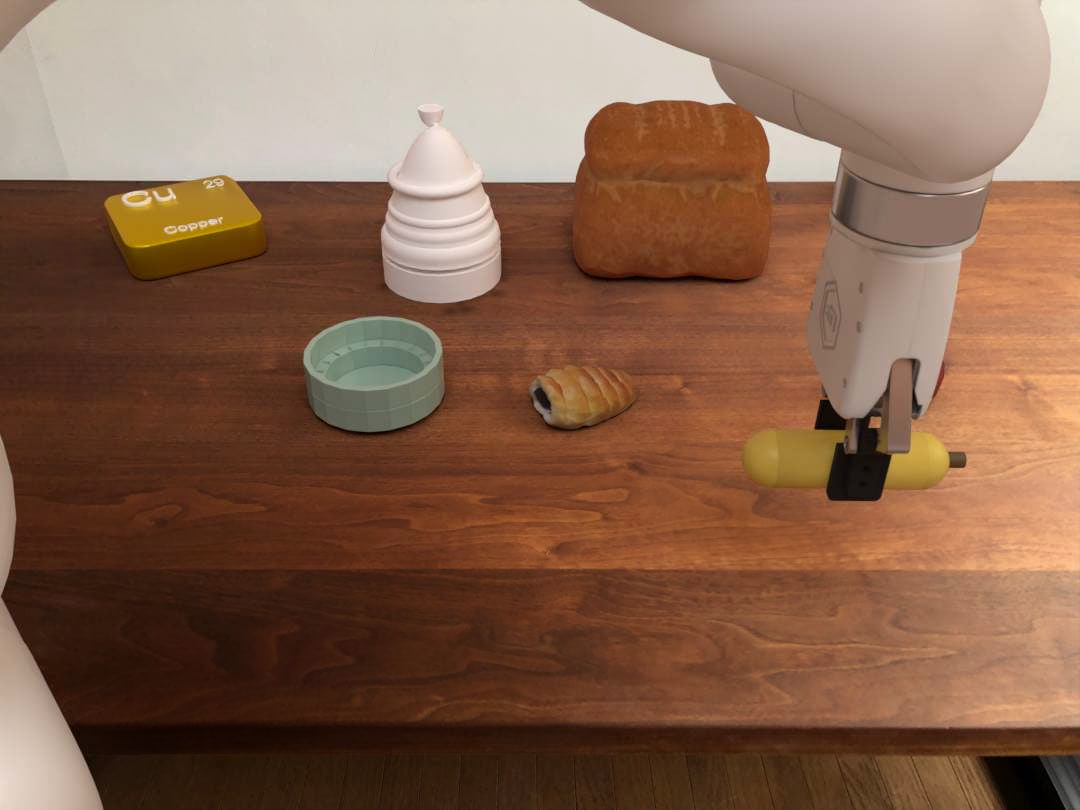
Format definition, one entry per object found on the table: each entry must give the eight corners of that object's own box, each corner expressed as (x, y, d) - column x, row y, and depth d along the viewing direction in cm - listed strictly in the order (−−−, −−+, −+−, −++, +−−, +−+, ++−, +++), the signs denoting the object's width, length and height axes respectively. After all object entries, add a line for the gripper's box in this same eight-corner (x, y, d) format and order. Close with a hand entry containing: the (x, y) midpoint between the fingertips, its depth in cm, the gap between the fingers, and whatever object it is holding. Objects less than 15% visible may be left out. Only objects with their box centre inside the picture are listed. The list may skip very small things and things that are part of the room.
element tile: (136, 285, 114) (126, 245, 111) (108, 230, 124) (99, 192, 121) (272, 254, 120) (266, 215, 117) (234, 204, 130) (228, 168, 127)
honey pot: (375, 254, 120) (361, 98, 109) (485, 241, 122) (481, 88, 112) (394, 310, 109) (380, 144, 99) (514, 294, 112) (513, 131, 102)
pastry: (614, 376, 100) (616, 341, 97) (649, 414, 95) (652, 379, 92) (523, 399, 96) (523, 364, 94) (555, 440, 92) (555, 405, 89)
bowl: (397, 452, 90) (392, 404, 87) (282, 413, 94) (274, 367, 92) (468, 381, 99) (467, 335, 96) (361, 349, 103) (356, 304, 100)
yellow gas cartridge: (744, 498, 64) (750, 444, 62) (734, 469, 67) (739, 418, 65) (969, 501, 64) (980, 448, 62) (947, 473, 67) (958, 422, 65)
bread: (571, 219, 127) (574, 80, 118) (748, 221, 127) (767, 82, 118) (573, 289, 113) (577, 138, 103) (773, 291, 113) (796, 141, 103)
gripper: (802, 139, 61) (760, 398, 72) (877, 273, 48) (811, 568, 58) (930, 141, 62) (869, 399, 72) (1041, 276, 48) (946, 570, 58)
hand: (844, 472), depth 65 cm, fingers closed on yellow gas cartridge, 3 cm apart
